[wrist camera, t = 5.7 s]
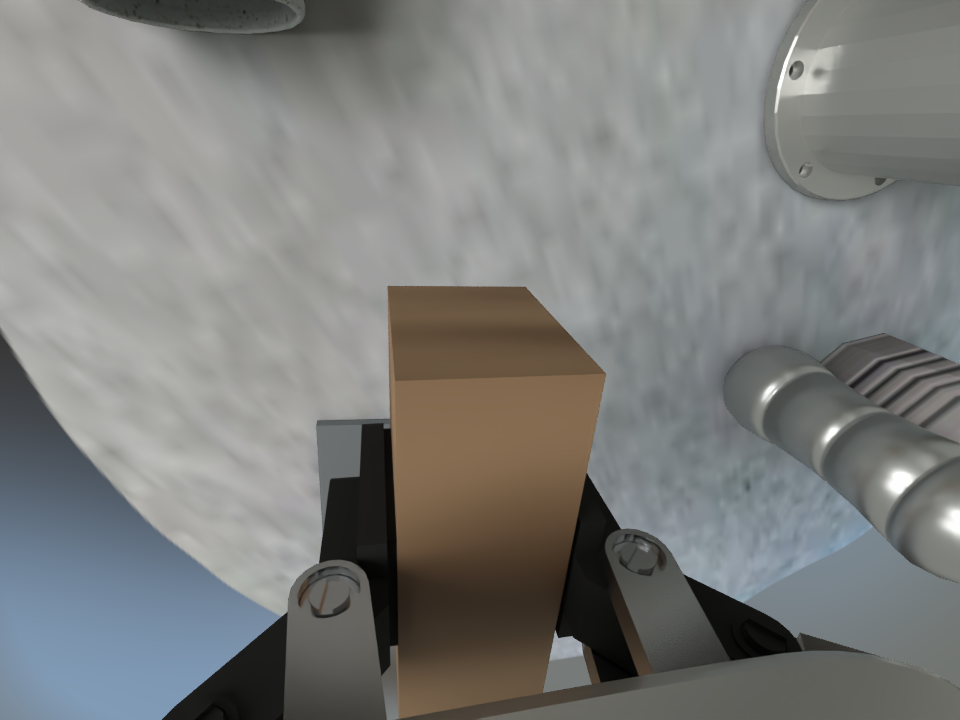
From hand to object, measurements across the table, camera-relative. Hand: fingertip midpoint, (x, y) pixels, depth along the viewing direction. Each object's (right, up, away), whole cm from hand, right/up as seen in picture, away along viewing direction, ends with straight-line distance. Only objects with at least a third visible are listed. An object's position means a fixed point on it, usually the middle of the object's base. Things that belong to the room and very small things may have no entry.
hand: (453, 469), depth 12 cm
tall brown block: (0, -3, +2) cm, 3 cm away
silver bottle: (+21, +2, +23) cm, 31 cm away
